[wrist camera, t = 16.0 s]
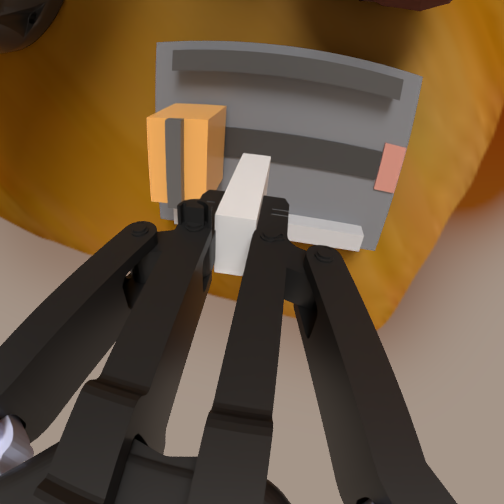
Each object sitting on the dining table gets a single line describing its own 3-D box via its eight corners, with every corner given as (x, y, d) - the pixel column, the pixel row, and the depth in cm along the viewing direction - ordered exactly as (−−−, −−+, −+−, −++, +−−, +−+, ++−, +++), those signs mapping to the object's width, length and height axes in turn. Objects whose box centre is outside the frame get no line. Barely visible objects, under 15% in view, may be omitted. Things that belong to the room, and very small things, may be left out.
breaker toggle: (175, 173, 25) (147, 205, 20) (175, 103, 21) (142, 119, 17) (222, 178, 25) (203, 212, 20) (226, 105, 21) (205, 122, 17)
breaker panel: (175, 199, 32) (154, 227, 27) (175, 42, 22) (147, 42, 18) (367, 227, 30) (377, 261, 26) (406, 72, 21) (430, 78, 16)
